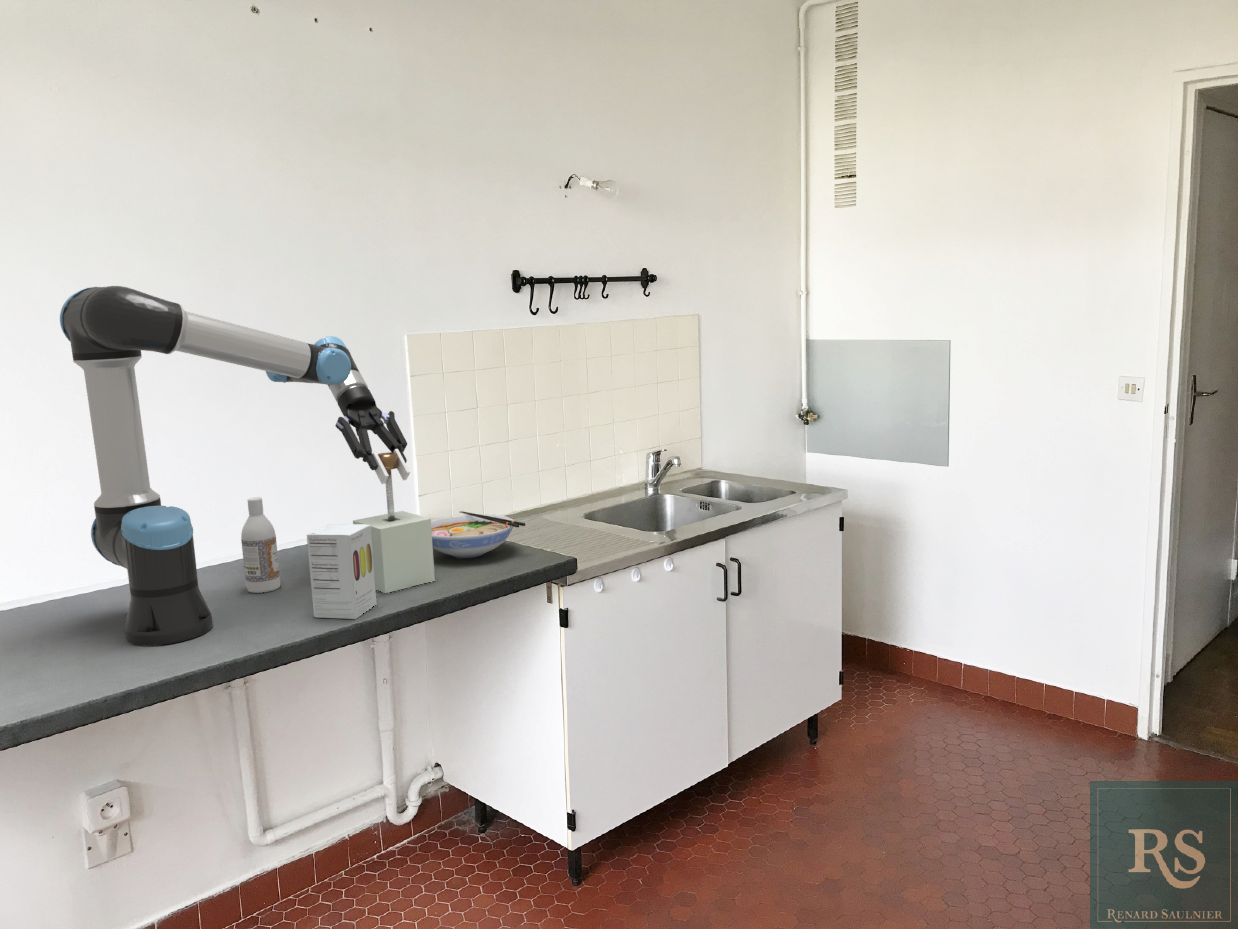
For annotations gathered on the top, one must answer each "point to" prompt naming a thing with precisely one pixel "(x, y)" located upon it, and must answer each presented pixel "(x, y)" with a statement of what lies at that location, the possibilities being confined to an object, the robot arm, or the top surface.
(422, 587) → the top surface
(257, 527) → the bath foam
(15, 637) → the top surface
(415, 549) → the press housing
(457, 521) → the ramen bowl
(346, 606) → the supplement box
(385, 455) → the plunger
